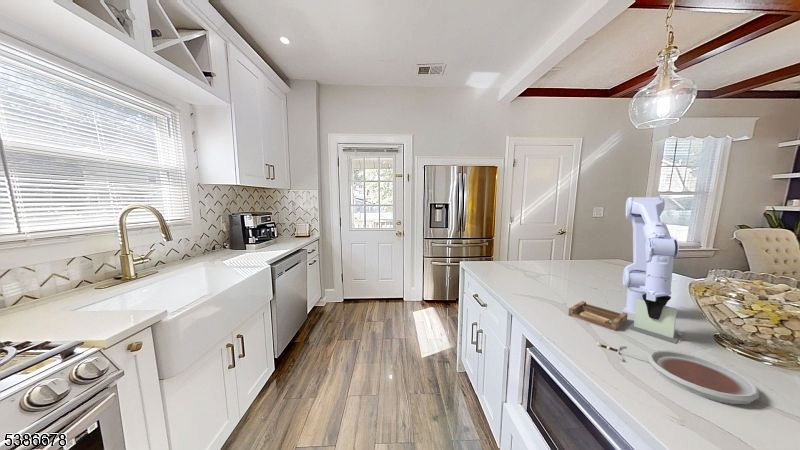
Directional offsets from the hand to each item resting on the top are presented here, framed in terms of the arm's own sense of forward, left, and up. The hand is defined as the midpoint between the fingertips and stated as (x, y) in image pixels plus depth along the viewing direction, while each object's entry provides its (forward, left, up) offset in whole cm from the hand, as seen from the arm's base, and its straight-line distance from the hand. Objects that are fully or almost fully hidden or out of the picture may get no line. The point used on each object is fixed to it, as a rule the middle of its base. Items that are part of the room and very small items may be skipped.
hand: (654, 317), depth 80 cm
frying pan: (+21, +6, -6) cm, 23 cm away
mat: (0, 0, -5) cm, 5 cm away
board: (0, 0, -5) cm, 5 cm away
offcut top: (+5, -14, -5) cm, 16 cm away
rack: (+3, -14, -5) cm, 15 cm away
